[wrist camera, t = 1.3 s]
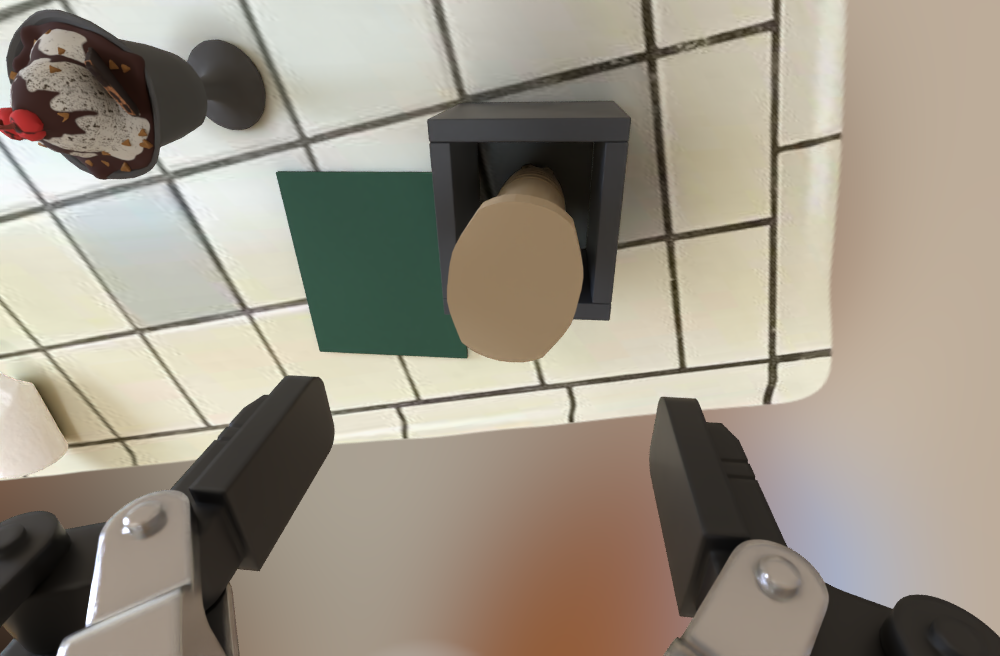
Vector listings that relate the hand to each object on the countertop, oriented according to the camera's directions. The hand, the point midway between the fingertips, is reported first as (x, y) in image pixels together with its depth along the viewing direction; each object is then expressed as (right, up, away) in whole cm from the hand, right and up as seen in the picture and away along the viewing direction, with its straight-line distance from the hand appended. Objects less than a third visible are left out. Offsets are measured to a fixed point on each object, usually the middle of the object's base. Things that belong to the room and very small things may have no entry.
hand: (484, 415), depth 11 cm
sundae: (-16, +17, +18) cm, 30 cm away
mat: (-8, +6, +23) cm, 25 cm away
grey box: (+3, +11, +19) cm, 22 cm away
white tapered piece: (-44, -4, +34) cm, 55 cm away
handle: (+3, +11, +19) cm, 22 cm away
